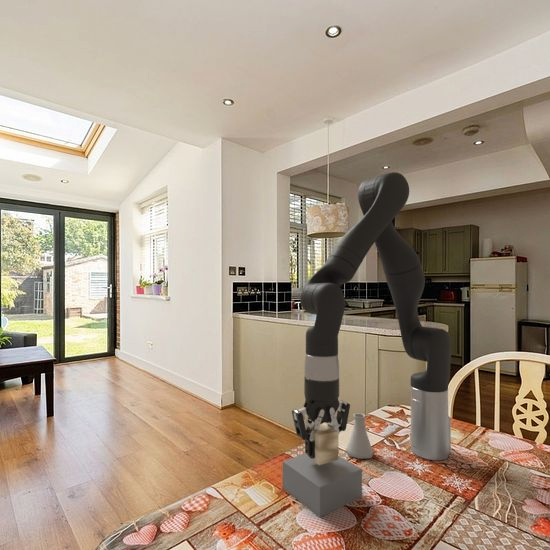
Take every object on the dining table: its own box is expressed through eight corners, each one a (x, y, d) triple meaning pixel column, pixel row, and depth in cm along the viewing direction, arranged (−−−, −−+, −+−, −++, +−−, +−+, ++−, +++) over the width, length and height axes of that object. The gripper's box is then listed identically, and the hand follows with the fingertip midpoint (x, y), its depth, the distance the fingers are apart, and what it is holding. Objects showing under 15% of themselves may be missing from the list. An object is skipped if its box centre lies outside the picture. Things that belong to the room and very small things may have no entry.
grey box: (322, 472, 83) (322, 447, 83) (362, 497, 73) (361, 468, 74) (282, 489, 76) (282, 461, 76) (319, 519, 66) (319, 487, 67)
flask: (374, 461, 88) (374, 421, 88) (345, 458, 90) (345, 419, 90) (372, 448, 95) (372, 411, 95) (345, 445, 97) (345, 409, 97)
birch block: (324, 449, 78) (324, 422, 79) (338, 459, 74) (338, 431, 74) (305, 454, 76) (305, 426, 76) (318, 465, 72) (318, 435, 72)
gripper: (337, 367, 82) (337, 440, 82) (284, 374, 76) (284, 453, 75) (359, 375, 76) (359, 454, 75) (302, 383, 69) (302, 470, 69)
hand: (321, 453), depth 75 cm, fingers closed on birch block, 5 cm apart
